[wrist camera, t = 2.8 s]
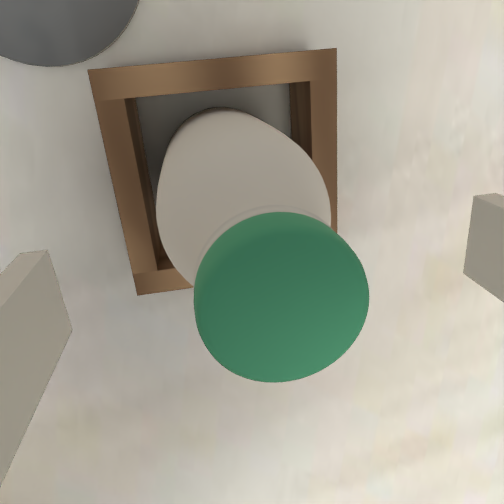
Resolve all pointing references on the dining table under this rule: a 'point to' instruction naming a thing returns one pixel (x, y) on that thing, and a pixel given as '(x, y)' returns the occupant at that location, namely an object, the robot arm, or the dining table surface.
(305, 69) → the walnut pocket
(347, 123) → the dining table surface
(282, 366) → the milk bottle
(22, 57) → the slate coaster
